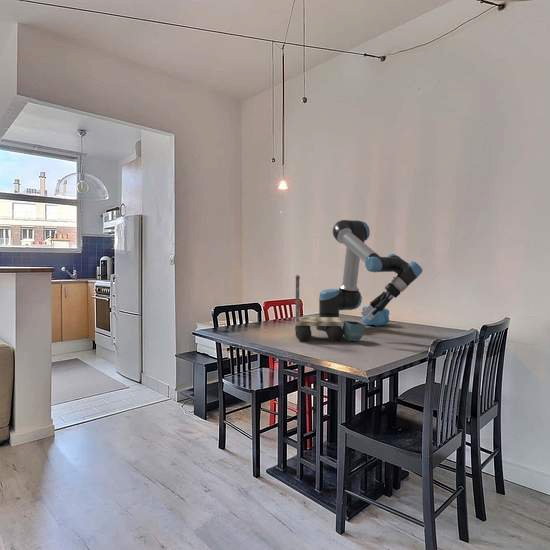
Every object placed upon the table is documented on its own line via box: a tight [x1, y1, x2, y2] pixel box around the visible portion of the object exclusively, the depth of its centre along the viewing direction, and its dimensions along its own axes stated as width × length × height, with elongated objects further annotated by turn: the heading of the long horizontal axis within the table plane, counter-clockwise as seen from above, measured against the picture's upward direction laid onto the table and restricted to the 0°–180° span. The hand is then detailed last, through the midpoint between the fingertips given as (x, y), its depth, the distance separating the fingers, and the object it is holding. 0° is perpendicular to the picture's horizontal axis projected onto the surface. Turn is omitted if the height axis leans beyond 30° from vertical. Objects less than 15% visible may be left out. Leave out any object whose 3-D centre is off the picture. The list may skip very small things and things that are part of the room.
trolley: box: [294, 274, 344, 343], centre depth 208 cm, size 24×16×33 cm, turn 88°
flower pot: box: [342, 320, 367, 342], centre depth 201 cm, size 9×9×9 cm
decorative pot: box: [361, 305, 391, 327], centre depth 251 cm, size 16×16×14 cm
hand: (364, 317), depth 201 cm, fingers open, 13 cm apart
